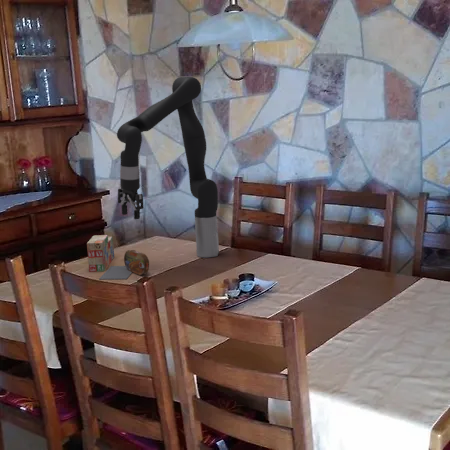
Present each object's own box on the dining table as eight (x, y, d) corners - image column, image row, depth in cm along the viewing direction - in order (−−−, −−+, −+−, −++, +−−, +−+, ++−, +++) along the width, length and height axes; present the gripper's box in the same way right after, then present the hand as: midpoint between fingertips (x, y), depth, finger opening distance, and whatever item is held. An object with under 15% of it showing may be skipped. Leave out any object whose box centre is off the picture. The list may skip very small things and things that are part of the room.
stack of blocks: (100, 257, 276) (97, 230, 273) (114, 256, 276) (112, 229, 273) (89, 272, 255) (86, 242, 252) (104, 271, 255) (102, 242, 252)
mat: (137, 266, 260) (137, 265, 260) (126, 279, 243) (126, 278, 243) (111, 266, 261) (111, 265, 261) (99, 279, 245) (98, 278, 244)
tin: (123, 268, 256) (123, 248, 254) (130, 267, 258) (129, 247, 256) (144, 277, 245) (143, 256, 243) (150, 275, 247) (150, 255, 245)
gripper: (148, 178, 245) (148, 219, 249) (127, 172, 255) (128, 211, 259) (132, 181, 240) (133, 222, 244) (111, 174, 250) (112, 214, 254)
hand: (130, 216), depth 252 cm, fingers open, 8 cm apart
